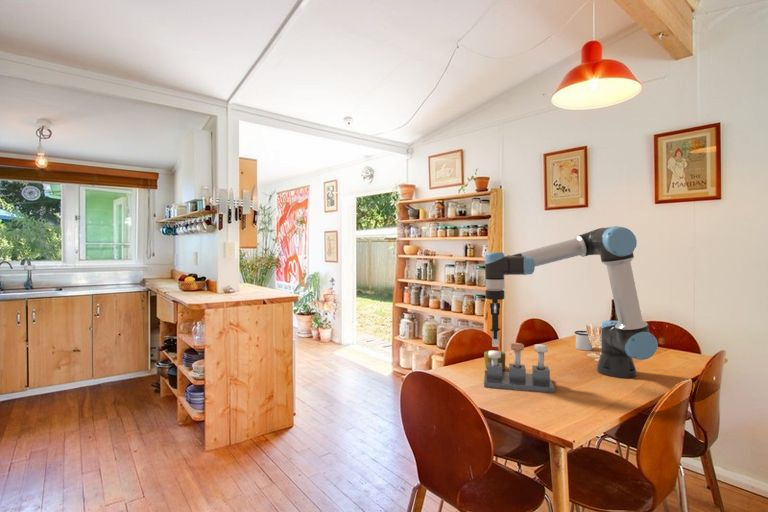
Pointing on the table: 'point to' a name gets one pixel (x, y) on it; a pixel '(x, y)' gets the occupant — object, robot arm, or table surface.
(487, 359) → the mug
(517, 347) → the pink capped peg
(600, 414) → the table surface
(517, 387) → the mount
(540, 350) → the knob near
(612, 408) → the table surface
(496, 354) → the knob far
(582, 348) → the mug
